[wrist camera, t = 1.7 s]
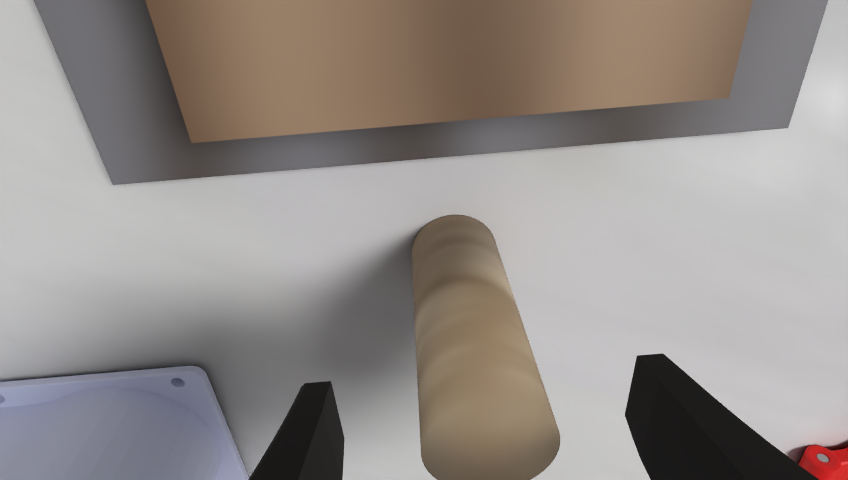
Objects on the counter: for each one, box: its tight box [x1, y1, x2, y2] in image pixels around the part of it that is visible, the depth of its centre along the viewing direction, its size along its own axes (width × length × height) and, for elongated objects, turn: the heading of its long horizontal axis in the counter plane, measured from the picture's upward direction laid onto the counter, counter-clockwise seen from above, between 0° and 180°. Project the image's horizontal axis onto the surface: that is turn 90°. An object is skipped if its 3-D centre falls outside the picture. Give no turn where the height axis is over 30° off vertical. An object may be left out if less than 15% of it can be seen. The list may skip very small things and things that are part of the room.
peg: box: [411, 215, 560, 480], centre depth 14 cm, size 3×3×8 cm
